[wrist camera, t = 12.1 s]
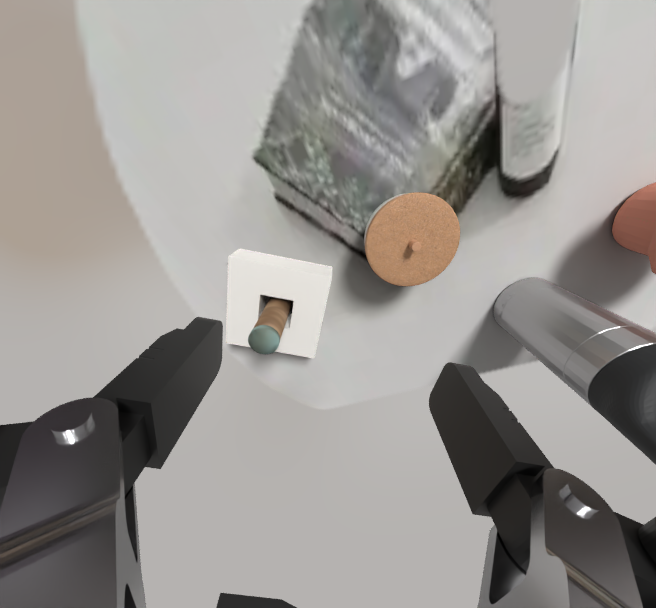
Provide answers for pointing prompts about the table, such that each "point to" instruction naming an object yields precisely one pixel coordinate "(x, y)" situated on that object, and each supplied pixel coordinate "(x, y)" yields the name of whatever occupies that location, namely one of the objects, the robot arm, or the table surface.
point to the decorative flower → (638, 223)
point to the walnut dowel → (270, 326)
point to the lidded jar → (411, 238)
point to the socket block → (281, 282)
